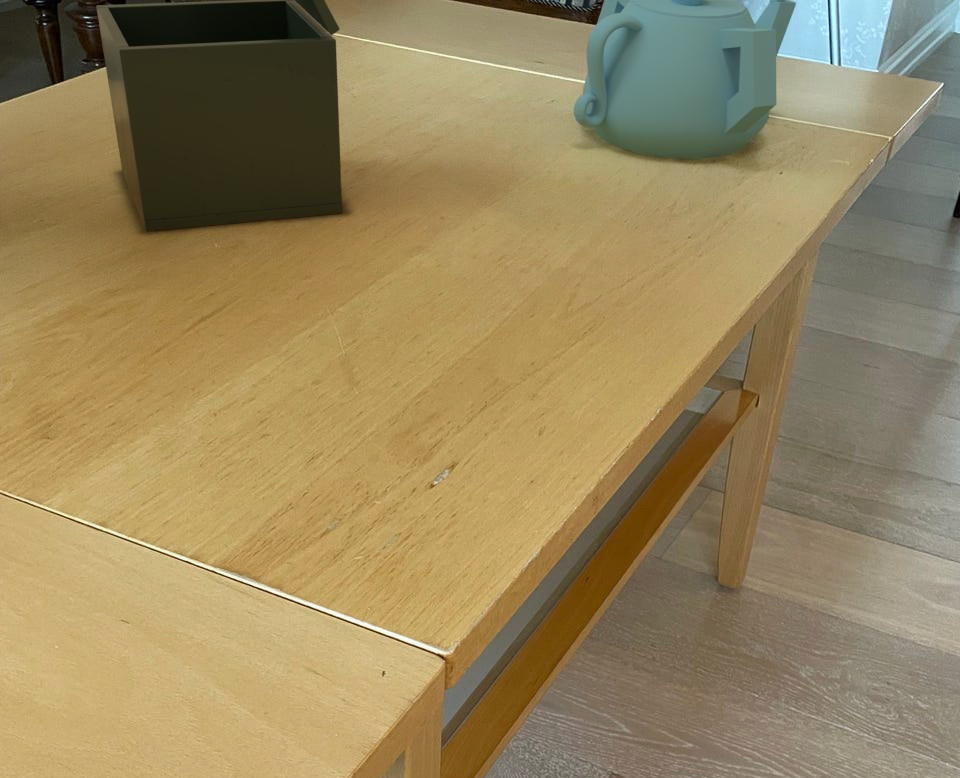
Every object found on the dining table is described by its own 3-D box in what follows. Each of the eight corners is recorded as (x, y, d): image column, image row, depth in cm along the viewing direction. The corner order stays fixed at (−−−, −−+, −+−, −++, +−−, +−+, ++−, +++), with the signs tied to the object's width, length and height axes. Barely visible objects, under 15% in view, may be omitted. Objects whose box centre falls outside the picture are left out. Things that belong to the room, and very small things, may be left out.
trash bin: (146, 231, 89) (119, 49, 80) (122, 173, 98) (96, 5, 90) (342, 213, 93) (336, 39, 85) (301, 158, 103) (292, -2, 94)
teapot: (752, 177, 104) (784, 5, 95) (547, 149, 108) (559, -18, 99) (774, 119, 118) (803, -35, 109) (591, 96, 122) (605, -54, 113)
